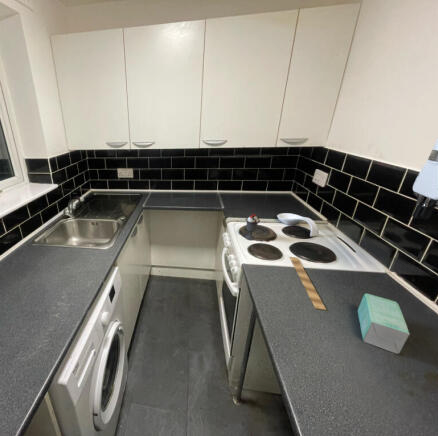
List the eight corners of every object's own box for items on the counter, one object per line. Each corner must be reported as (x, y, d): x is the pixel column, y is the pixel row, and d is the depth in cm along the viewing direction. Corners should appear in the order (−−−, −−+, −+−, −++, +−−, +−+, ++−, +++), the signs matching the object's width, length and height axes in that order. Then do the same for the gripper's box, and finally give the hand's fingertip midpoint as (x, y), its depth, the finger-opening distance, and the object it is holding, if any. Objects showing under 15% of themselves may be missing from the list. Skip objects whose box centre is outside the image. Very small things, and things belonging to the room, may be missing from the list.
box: (388, 319, 69) (398, 300, 66) (399, 355, 59) (411, 335, 56) (356, 309, 73) (364, 291, 70) (362, 341, 63) (371, 322, 60)
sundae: (244, 240, 115) (248, 213, 109) (241, 234, 121) (245, 208, 115) (258, 241, 114) (263, 213, 107) (254, 235, 120) (259, 208, 113)
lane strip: (289, 257, 100) (289, 256, 100) (297, 258, 100) (297, 257, 99) (315, 308, 74) (315, 307, 74) (326, 310, 73) (326, 309, 73)
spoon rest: (271, 219, 136) (274, 208, 133) (288, 217, 138) (291, 206, 135) (305, 238, 115) (308, 225, 112) (324, 235, 117) (328, 222, 114)
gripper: (497, 163, 56) (458, 230, 63) (443, 153, 69) (416, 209, 76) (456, 162, 58) (423, 227, 65) (412, 153, 71) (389, 208, 78)
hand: (419, 217), depth 71 cm, fingers closed
